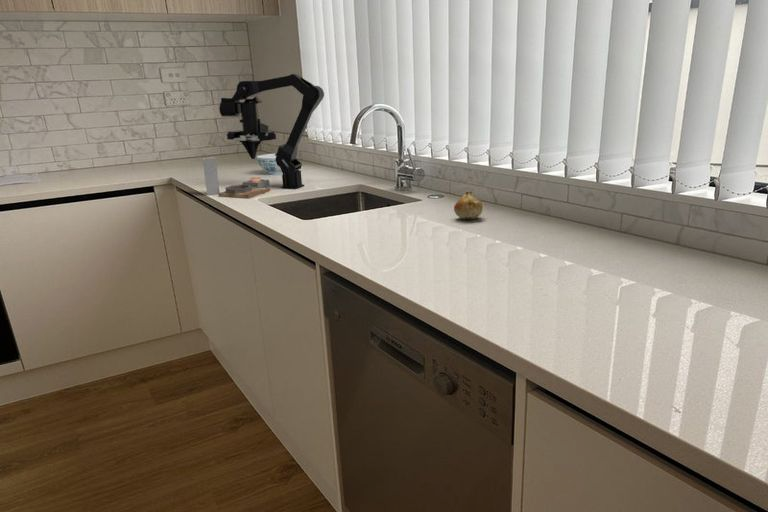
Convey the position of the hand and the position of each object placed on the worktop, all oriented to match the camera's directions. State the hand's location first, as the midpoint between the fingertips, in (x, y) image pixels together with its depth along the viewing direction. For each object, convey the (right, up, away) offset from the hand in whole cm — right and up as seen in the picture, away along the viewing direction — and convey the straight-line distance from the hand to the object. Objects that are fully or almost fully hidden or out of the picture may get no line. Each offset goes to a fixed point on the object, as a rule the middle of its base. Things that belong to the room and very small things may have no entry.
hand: (253, 158), depth 216 cm
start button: (0, -9, +3) cm, 10 cm away
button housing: (0, -10, +3) cm, 11 cm away
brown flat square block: (-1, -14, -9) cm, 17 cm away
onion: (+73, -27, -56) cm, 95 cm away
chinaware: (+2, -1, +35) cm, 36 cm away
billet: (-13, -14, -6) cm, 20 cm away
